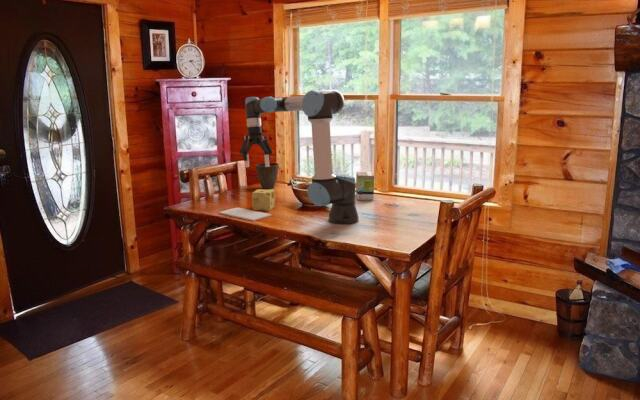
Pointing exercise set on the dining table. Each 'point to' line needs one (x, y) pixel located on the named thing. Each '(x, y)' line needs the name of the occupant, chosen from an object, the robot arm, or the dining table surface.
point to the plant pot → (267, 175)
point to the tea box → (365, 185)
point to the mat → (245, 214)
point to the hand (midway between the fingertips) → (257, 167)
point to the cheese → (263, 199)
